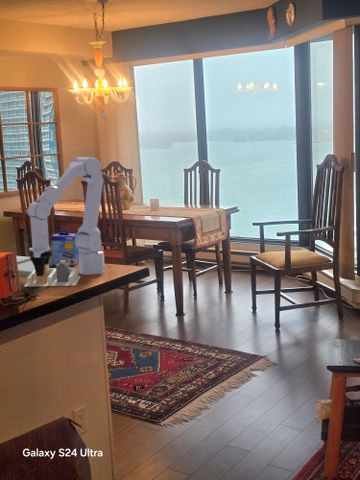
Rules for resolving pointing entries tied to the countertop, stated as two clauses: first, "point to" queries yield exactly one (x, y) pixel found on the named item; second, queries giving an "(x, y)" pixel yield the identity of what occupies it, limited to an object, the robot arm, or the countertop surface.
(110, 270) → the countertop surface
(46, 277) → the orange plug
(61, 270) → the charcoal plug
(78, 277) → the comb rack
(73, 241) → the ink cartridge box
